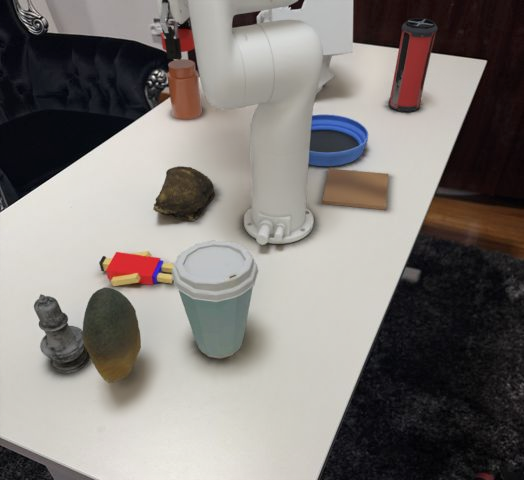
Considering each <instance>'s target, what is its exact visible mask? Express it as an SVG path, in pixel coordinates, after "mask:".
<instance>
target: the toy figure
mask: <svg viewBox="0 0 524 480" xmlns="http://www.w3.org/2000/svg"><path fill="white" fill-rule="evenodd" d="M98 264H99V267H100V271H101V272H105V273H106V277H107V279H108V280H110V284H111V285H112V286H113V287H116V286H117V287H118V286H123V285H131V284H143V285H147V286H148V285H149V286H154V284H158V283H166V284H172V283H173V282H174V280H173V278H172V268H173V265H174V263H168V262H165V261H164V260H163V259H162V260H161V257H155V256H152V254H151V252H150V250H146V251H145V250H144V251H140V252H134V253H127V252H121V251H116V252H115V253H114V254H113V257H112V258H110V257H107V256H106V255H103V256H102V257H101V258H100V260H99V262H98ZM170 273H171V274H170Z"/></svg>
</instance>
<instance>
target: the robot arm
mask: <svg viewBox="0 0 524 480" xmlns="http://www.w3.org/2000/svg"><path fill="white" fill-rule="evenodd" d="M297 2H299V0H156V5H157V12H158V18H159V24H160V27H161V30H162V33H163V36H164V39H165V46H166V50H165V52H166V58H167V59H168V60H180V59H182V57H183V56H182V52H181V46H180V38H178V29H189V30H192V33H193V39H194V46H195V48H194V52H195V59H196V64H197V71H198V77H199V82H200V85H201V88H202V89H201V90H202V91H203V94H204V95H203V96H205V99H206V101H207V102H208V103H209V104H210V105H211V107H212V108H214V109H216V110H221V111H228V110H235V109H241V108H245V107H251V106H255V105H256V107H255V109H254V112H253V113H252V117H251V122H250V127H249V152H250V155H249V156H250V185H251V186H250V187H251V188H250V189H251V191H250V192H251V207H249V208H248V209H247V210H246V211H245V213H244V215H243V227H244V229H245V231H246V233H248V234H249V235H250V236H251V237H252V238H254V239H255V240H256V241H255V242H257V244H259V245H261V246H263V245H266V244H274V245H276V244H277V245H279V244H283V245H284V244H290V243H291V244H292V243H294V242H297V241H299V240H302V239H303V238H305V237H306V236H308V235H309V234H310V233H311V231H312V229H313V228H314V216H313V215H314V214H313V213H312V212H311V210H310V209H309V208H308V207H307V193H308V177H309V165H310V164H309V148H310V137H311V123H312V115H314V113H313V112H314V105H315V99H316V95H317V94H316V91H317V87H318V83H319V80H320V75H321V71H322V63H323V49H322V43H321V40H320V37H319V35H318V33H317V32H316V30H315V29H314V28H313V27H312V26H311V25H309V24H307V23H306V22H303V21H300V20H278V21H272V22H265V23H259V24H257V23H254V24H250V25H242V26H237V27H233V19H234V17H235V16H236V15H243V14H248V13H256V12H261V11H263V10H269V9H275V8H280V7H284V6H288V5H289V6H291V5H293V4H295V3H297ZM289 6H288V7H289ZM172 27H173V28H172ZM173 29H174V31H173Z"/></svg>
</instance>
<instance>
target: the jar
mask: <svg viewBox="0 0 524 480" xmlns="http://www.w3.org/2000/svg"><path fill="white" fill-rule="evenodd" d="M167 66H168V72H167V73H166V77H167V84H168V85H167V86H168V92H169V98H170V99H169V100H170V105H171V112H172V113H171V114H172V116H173V117H174V118H176V119H179V120H193V119H196V118H198V117H201V116H202V114H203V109H202V99H201V87H200V76H199V71H198V69H197V70H196V63H195V61H193V60H191V59H186V58H183V59H182V58H181V59H180V60H178V59H173V60H172V61H170V62H168V64H167Z"/></svg>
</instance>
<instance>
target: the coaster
mask: <svg viewBox="0 0 524 480" xmlns="http://www.w3.org/2000/svg"><path fill="white" fill-rule="evenodd" d="M388 184H389V173H383V172H375V171H374V172H373V171H363V170H362V171H361V170H350V169H339V168H328V171H327V175H326V179H325V185H324V190H323V196H322V199H321V204H324V205H333V206H342V207H343V206H344V207H351V208H353V207H354V208H363V209H374V210H384V211H385V210H387V208H388V207H387V206H388V204H387V203H388V186H389V185H388Z"/></svg>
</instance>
